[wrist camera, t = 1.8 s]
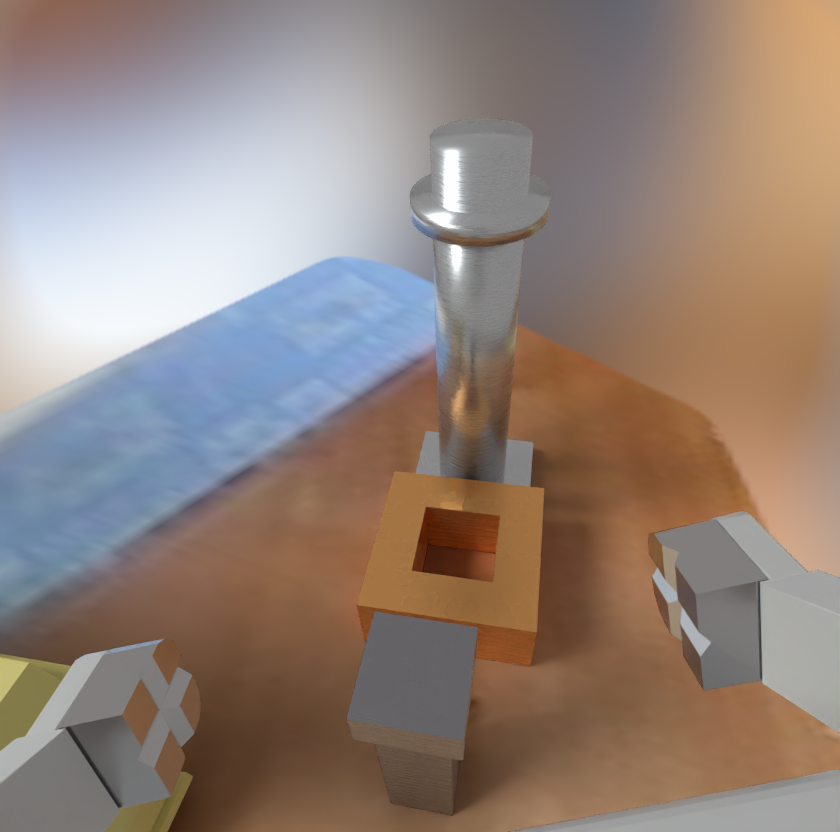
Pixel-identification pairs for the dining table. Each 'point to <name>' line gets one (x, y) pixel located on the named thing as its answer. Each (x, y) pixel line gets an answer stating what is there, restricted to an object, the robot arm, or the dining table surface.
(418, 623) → the grey square peg
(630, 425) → the dining table surface
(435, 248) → the metal post on base
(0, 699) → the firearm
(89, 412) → the dining table surface
